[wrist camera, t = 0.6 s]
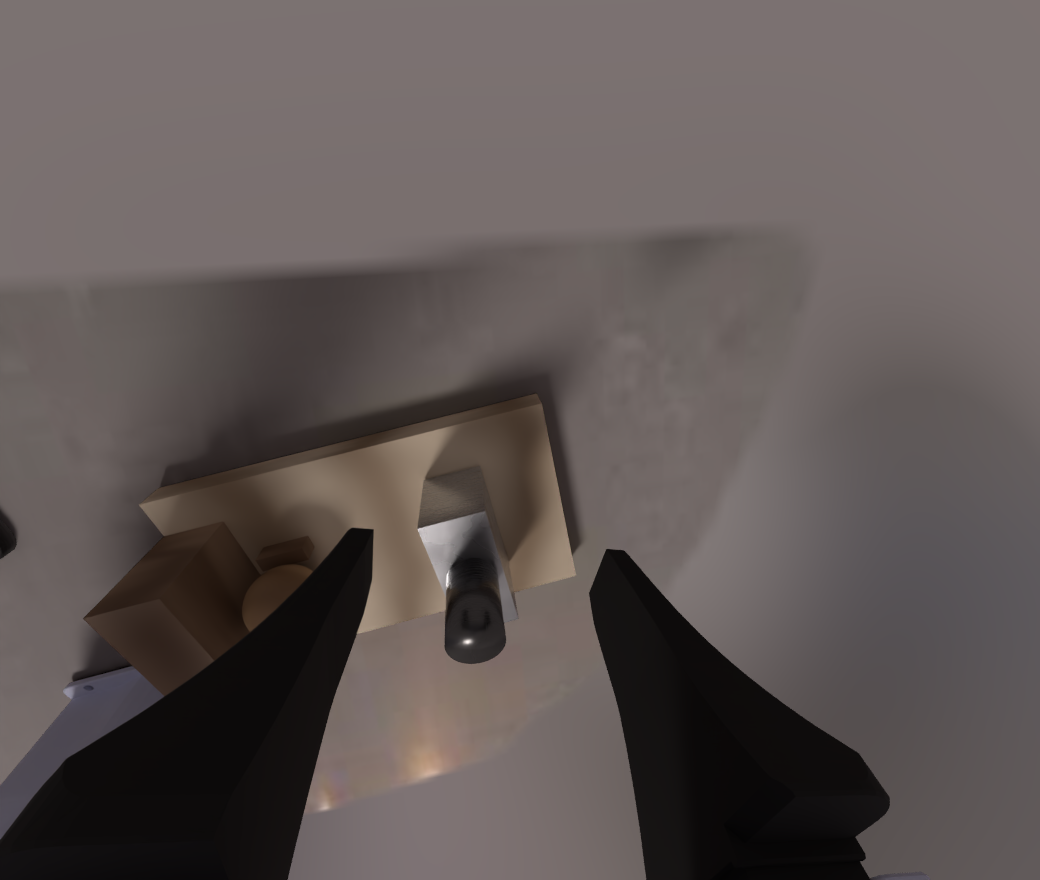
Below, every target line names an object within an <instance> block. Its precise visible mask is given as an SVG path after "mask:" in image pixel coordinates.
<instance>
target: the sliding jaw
mask: <svg viewBox="0 0 1040 880" xmlns="http://www.w3.org/2000/svg"><path fill="white" fill-rule="evenodd" d="M417 529H418V532H419V534H420V537H421V539H422V541H423V544H424V546H425V549H426V551H427V553H428V556H429V558H430V560H431V563H432V565H433V568H434V570H435V572H436V575H437V577H438V580H439V582H440V584H441V587H442V589H443V592H444V594H445V596H446V612H445V650H446V652H447V654H448V655H449V656H450V657H451V658H452V659H454V660H456V661H458V662H461V663H467V664H475V663H481V662H485V661H488V660H490V659H492V658H494V657H495V656H497V655H498V654H499V653H500V652H501V651H502V650H503V648H504V646H505V643H506V635H505V628H504V623H505V622H508V621H512V620H516V619H518V613H517V607H516V601H515V595H514V589H513V583H512V577H511V571H510V565H509V561H508V558H507V554H506V551H505V548H504V544H503V541H502V538H501V534H500V531H499V527H498V524H497V521H496V517H495V514H494V511H493V507H492V504H491V501H490V497H489V494H488V491H487V487H486V484H485V480H484V477H483V474H482V470H481V467H480V466H476V467H473V468H469V469H465V470H461V471H457V472H453V473H449V474H445V475H441V476H437V477H433V478H430V479H426V480H424V481H423V489H422V496H421V504H420V512H419V519H418V527H417Z"/></svg>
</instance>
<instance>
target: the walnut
mask: <svg viewBox="0 0 1040 880" xmlns="http://www.w3.org/2000/svg"><path fill="white" fill-rule="evenodd" d="M312 572H313V570H311V569H309V568H307V567H305V566H301V565H295V564H288V565H281V566H278V567H275V568H272V569H270V570H268V571H267V572H265V573H263V574H262V575H261V576H259V577H258V578H257V579H256V580H255V581H254V582H253V583H252V585H251V586H250V588H249V589H248V591H247V593H246V595H245V597H244V600H243V605H242V616H243V620H244V623H245V625H246V627H247V628H248V630H249V631H250V632H251V631H252V630H253V629H254V628H255V627H256V626H258V625H259V624H260V623H261V622H262V621H263V620H264V619H266V618H267V617H268V616H269V615H270V614H271V613H272V612H273V611H274V610H275V609H276V608H278V607H279V606H280V605H281V604H282V603H283V602H284V601H285V600H286V599H287V598H288V597H289V596H290V595H291V594H292V593H293V592H294V591H295V590H296V589H297V588H298V587H299V586H300V585H301V584H302V583H303V582H304V581H305V580H306V579H307V578H308V576H309V575H310V574H311V573H312Z"/></svg>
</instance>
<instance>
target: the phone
mask: <svg viewBox="0 0 1040 880" xmlns="http://www.w3.org/2000/svg"><path fill="white" fill-rule="evenodd" d="M16 545H17V544H16V538H15V537H14V535H13V533H12V532H11V531H10V530H9V529H8V528H7V526H6V525H5V524H4V523H3V522H2V520H1V519H0V559H1V558H3V557H4V556H6V555H7V554H8V553H10V552H11V551H13V550H14V549H15V547H16Z"/></svg>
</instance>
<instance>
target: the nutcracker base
mask: <svg viewBox="0 0 1040 880" xmlns="http://www.w3.org/2000/svg"><path fill="white" fill-rule="evenodd" d="M476 466H480V467H481V470H482V474H483V477H484V480H485V484H486V487H487V491H488V494H489V497H490V501H491V504H492V507H493V511H494V514H495V517H496V521H497V524H498V527H499V531H500V534H501V538H502V541H503V544H504V548H505V551H506V554H507V558H508V561H509V565H510V571H511V577H512V583H513V589H514V592H517V591H520V590H524V589H528V588H532V587H535V586H539V585H543V584H546V583H550V582H554V581H558V580H561V579H565V578H569V577H573V576H576V574H575V569H574V564H573V559H572V553H571V548H570V543H569V538H568V533H567V528H566V523H565V518H564V513H563V508H562V503H561V498H560V493H559V488H558V483H557V478H556V473H555V468H554V462H553V457H552V452H551V447H550V442H549V437H548V432H547V427H546V422H545V417H544V412H543V407H542V403H541V401H540V399H539V397H538V395H537V393H536V394H532V395H528V396H524V397H520V398H516V399H512V400H508V401H504V402H500V403H496V404H492V405H488V406H484V407H480V408H476V409H472V410H468V411H464V412H460V413H456V414H452V415H448V416H444V417H440V418H436V419H432V420H428V421H424V422H420V423H416V424H412V425H408V426H404V427H400V428H396V429H392V430H388V431H384V432H380V433H376V434H372V435H368V436H364V437H360V438H356V439H352V440H348V441H344V442H340V443H336V444H332V445H328V446H324V447H320V448H316V449H312V450H308V451H304V452H300V453H296V454H292V455H288V456H284V457H280V458H276V459H272V460H268V461H264V462H260V463H256V464H252V465H249V466H245V467H241V468H237V469H233V470H229V471H225V472H221V473H217V474H213V475H209V476H205V477H201V478H197V479H193V480H189V481H185V482H181V483H177V484H173V485H169V486H165V487H161V488H158V489H157V490H156V491H155V492H154V493H152V494H151V495H150V496H149V497H148V498H146V499H145V500H144V501H143V502H142V503H140V504H139V506H140V507H141V508H142V510H143V511H144V512H145V513H146V515H147V516H148V517H149V518H150V520H151V521H152V522H153V523H154V525H155V526H156V527H157V528H158V530H159V531H160V532H161V533H162V535H163V536H164V537H163V538H162V539H161V540H160V541H159V542H158V543H157V544H156V545H155V546H154V547H153V548H152V549H151V550H150V551H149V552H148V553H147V554H146V555H145V556H144V557H143V558H142V559H141V560H140V561H139V562H138V563H137V564H136V565H135V566H134V567H133V568H132V569H131V570H130V571H129V573H128V574H127V575H126V576H125V577H124V578H123V579H122V580H121V581H120V582H119V583H118V584H117V585H116V586H115V587H114V588H113V589H112V590H111V591H110V592H109V593H108V594H107V595H106V596H105V597H104V598H103V599H102V600H101V601H100V602H99V603H98V604H97V605H96V606H95V607H94V608H93V609H92V610H91V611H90V612H89V613H88V614H87V615H86V616H85V617H84V618H83V619H84V620H85V621H86V622H87V623H88V624H89V625H90V626H91V627H92V628H93V629H94V630H95V631H96V632H97V633H98V634H100V635H101V636H102V637H103V638H104V639H105V640H106V641H107V642H108V643H109V644H110V645H111V646H112V647H113V648H114V649H115V650H116V651H117V652H118V653H119V654H120V655H122V656H123V657H124V658H125V659H126V660H127V661H128V662H129V663H130V664H131V665H132V666H133V667H134V668H135V669H136V670H137V671H138V672H139V673H140V674H141V675H143V676H144V677H145V678H146V679H147V680H148V681H149V682H150V683H151V684H152V685H153V686H154V687H155V688H156V689H157V690H158V691H159V692H160V693H161V694H162V695H164V696H166V695H167V694H169V693H170V692H172V691H173V690H174V689H176V688H177V687H179V686H180V685H182V684H183V683H184V682H186V681H187V680H189V679H190V678H192V677H193V676H195V675H196V674H197V673H199V672H200V671H201V670H203V669H204V668H205V667H207V666H208V665H209V664H211V663H212V662H213V661H215V660H216V659H217V658H218V657H220V656H221V655H222V654H223V653H225V652H226V651H227V650H229V649H230V648H231V647H232V646H234V645H235V644H236V643H237V642H239V641H240V640H241V639H242V638H244V637H245V636H246V635H247V634H248V633H249V632H250V631H249V630H248V628H247V627H246V625H245V623H244V620H243V616H242V605H243V600H244V597H245V595H246V593H247V591H248V589H249V588H250V586H251V585H252V583H253V582H254V581H255V580H256V579H257V578H258V577H259V576H261V575H262V574H263V573H265V572H267V571H268V570H270V569H272V568H275V567H278V566H281V565H288V564H295V565H301V566H305V567H307V568H309V569H311V570H313V571H314V570H315V569H316V568H317V567H318V566H319V565H320V564H321V562H322V561H323V560H324V559H325V558H326V557H327V556H328V554H329V553H330V552H331V551H332V550H333V548H334V547H335V546H336V545H337V544H338V542H339V541H340V540H341V539H342V537H343V536H344V535H345V533H346V532H347V531H348V530H349V529H350V528H364V529H374V538H373V571H372V582H371V587H370V591H369V595H368V599H367V603H366V607H365V611H364V615H363V618H362V620H361V623H360V626H359V629H358V632H357V634H359V633H363V632H367V631H371V630H374V629H378V628H382V627H386V626H389V625H393V624H397V623H401V622H404V621H408V620H412V619H416V618H419V617H423V616H427V615H431V614H434V613H438V612H442V611H445V610H446V596H445V594H444V592H443V589H442V587H441V584H440V582H439V580H438V577H437V575H436V572H435V570H434V568H433V565H432V563H431V560H430V558H429V556H428V553H427V551H426V549H425V546H424V544H423V541H422V539H421V537H420V534H419V532H418V529H417V527H418V519H419V512H420V504H421V496H422V489H423V481H424V480H426V479H430V478H433V477H437V476H441V475H445V474H449V473H453V472H457V471H461V470H465V469H469V468H473V467H476Z"/></svg>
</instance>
